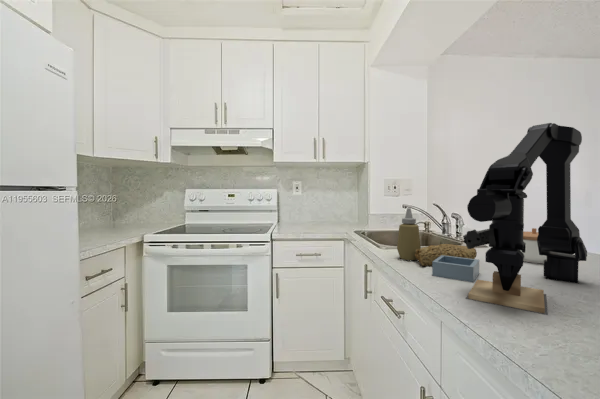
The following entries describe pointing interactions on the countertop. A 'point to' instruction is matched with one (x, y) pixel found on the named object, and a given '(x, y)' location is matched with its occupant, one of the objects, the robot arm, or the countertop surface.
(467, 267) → the ceramic dish
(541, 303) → the oak lid
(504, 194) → the robot arm
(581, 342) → the countertop surface
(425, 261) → the sponge
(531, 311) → the rubber mat
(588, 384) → the countertop surface
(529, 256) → the lidded bowl
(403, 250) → the squeeze bottle
